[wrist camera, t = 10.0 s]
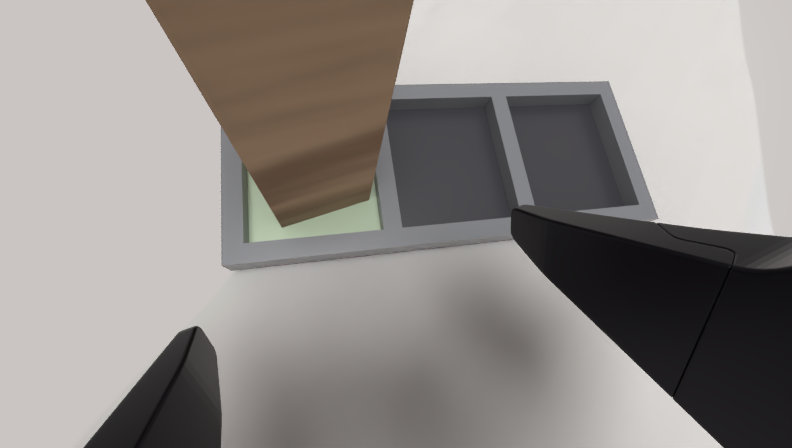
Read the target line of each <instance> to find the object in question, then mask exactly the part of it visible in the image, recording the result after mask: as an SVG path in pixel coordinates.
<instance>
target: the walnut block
mask: <svg viewBox="0 0 792 448" xmlns="http://www.w3.org/2000/svg"><path fill="white" fill-rule="evenodd" d="M413 1H414V0H146V2H147V3H148V5H149V6H150V8H151V10H152V12H153V13H154V15H155V17H156V18H157V20H158V22H159V23H160V25H161V27H162V28H163V30H164V32H165V33H166V35H167V37H168V38H169V40H170V42H171V43H172V45H173V46H174V48H175V50H176V51H177V53H178V55H179V57H180V58H181V60H182V62H183V63H184V65H185V67H186V68H187V70H188V72H189V73H190V75H191V77H192V78H193V80H194V82H195V83H196V85H197V87H198V88H199V90H200V92H201V93H202V95H203V97H204V98H205V100H206V102H207V103H208V105H209V107H210V108H211V110H212V112H213V113H214V115H215V117H216V118H217V120H218V122H219V123H220V125H221V127H222V129H223V130H224V132H225V134H226V135H227V137H228V139H229V140H230V142H231V144H232V145H233V147H234V149H235V150H236V152H237V154H238V155H239V157H240V159H241V160H242V162H243V164H244V165H245V167H246V169H247V170H248V172H249V174H250V175H251V177H252V179H253V180H254V182H255V184H256V185H257V187H258V189H259V190H260V192H261V194H262V195H263V197H264V199H265V200H266V202H267V204H268V205H269V207H270V209H271V210H272V212H273V214H274V215H275V217H276V219H277V220H278V222H279V224H280V225H281V227H282V228H283V227H286V226H289V225H292V224H296V223H299V222H302V221H305V220H308V219H311V218H314V217H318V216H321V215H324V214H327V213H330V212H333V211H336V210H339V209H343V208H346V207H349V206H352V205H355V204H358V203H361V202H365V201H368V200H369V198H370V194H371V189H372V185H373V180H374V176H375V171H376V167H377V162H378V158H379V153H380V149H381V144H382V140H383V135H384V131H385V126H386V122H387V117H388V113H389V108H390V104H391V99H392V95H393V90H394V86H395V81H396V77H397V72H398V68H399V64H400V59H401V55H402V50H403V46H404V41H405V37H406V32H407V28H408V23H409V19H410V14H411V10H412V5H413Z"/></svg>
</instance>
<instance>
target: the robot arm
mask: <svg viewBox="0 0 792 448" xmlns="http://www.w3.org/2000/svg"><path fill="white" fill-rule="evenodd" d="M511 235H512V237H513V239H514V240H515V241H516V243H517V244H518V245H519V246H520V247H521V248H522V250H523V251H524V252H525V253H526V254H527V256H528V257H529V258H530V259H531V260H532V261H533V263H534V264H535V265H536V266H537V267H538V269H539V270H540V271H541V272H542V273H543V274H544V275H545V276H546V277H547V278H548V279H549V280H550V281H551V282H552V283H553V284H554V285H555V286H556V287H557V288H558V289H559V290H560V291H561V292H562V293H563V294H565V295H566V296H567V297H568V298H569V299H570V300H571V301H572V302H573V303H574V304H575V305H576V306H577V307H578V308H579V309H580V310H581V311H582V312H583V313H584V314H585V315H586V316H587V317H588V318H590V319H591V320H592V321H593V322H594V323H595V324H596V325H597V326H598V327H599V328H600V329H601V330H602V331H603V332H604V333H605V334H606V335H607V336H608V337H609V338H610V339H611V340H612V341H613V342H614V343H616V344H617V345H618V346H619V347H620V348H621V349H622V350H623V351H624V352H625V353H626V354H627V355H628V356H629V357H630V358H631V359H632V360H633V361H634V362H635V363H636V364H637V365H638V366H639V367H641V368H642V369H643V370H644V371H645V372H646V373H647V374H648V375H649V376H650V377H651V378H652V379H653V380H654V381H655V382H656V383H657V384H658V385H659V386H660V387H661V388H662V389H663V390H664V391H666V392H667V393H668V394H669V395H670V396H671V397H673V399H674V400H675V401H676V402H677V403H678V404H679V405H680V406H681V407H682V408H683V409H684V410H685V411H686V412H687V413H688V414H689V415H690V416H691V417H692V418H693V419H694V420H695V421H696V422H697V423H699V424H700V425H701V426H702V427H703V428H704V429H705V430H706V431H707V432H708V433H709V434H710V435H711V436H712V437H713V438H714V439H715V440H716V441H717V442H718V443H719V444H720V445H721V446H722V447H723V448H792V237H781V236H772V235H761V234H751V233H741V232H730V231H721V230H711V229H702V228H693V227H685V226H678V225H670V224H663V223H657V224H656V223H655V222H648V221H641V220H634V219H627V218H620V217H612V216H605V215H598V214H591V213H584V212H577V211H569V210H562V209H555V208H548V207H541V206H534V205H526V204H524V205H521V206H518V207H515V208H513V209H512V211H511ZM221 427H222V412H221V399H220V388H219V377H218V365H217V356H216V352H215V349H214V347H213V345H212V344H211V342H210V341H209V339H208V338H207V336H206V335H205V333H204V332H203V330H202V329H201V328H200V327H198V326H194V327H191V328H188V329H186V330H183V331H181V332H179V333H178V334H177V335H176V336H175V337H174V339H173V340H172V341H171V342H170V344H169V345H168V346H167V347H166V348H165V350H164V351H163V352H162V353H161V354H160V356H159V357H158V358H157V359H156V360H155V362H154V363H153V364H152V365H151V367H150V368H149V369H148V370H147V371H146V373H145V374H144V375H143V376H142V377H141V379H140V380H139V381H138V382H137V384H136V385H135V386H134V387H133V388H132V390H131V391H130V392H129V393H128V394H127V396H126V397H125V398H124V399H123V400H122V402H121V403H120V404H119V405H118V407H117V408H116V409H115V410H114V411H113V413H112V414H111V415H110V416H109V417H108V419H107V420H106V421H105V422H104V423H103V425H102V426H101V427H100V428H99V430H98V431H97V432H96V433H95V434H94V436H93V437H92V438H91V439H90V440H89V442H88V443H87V444H86V445H85V446H84V448H221Z"/></svg>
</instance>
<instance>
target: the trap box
mask: <svg viewBox="0 0 792 448" xmlns="http://www.w3.org/2000/svg"><path fill="white" fill-rule="evenodd" d="M524 204H526V205H534V206H541V207H548V208H555V209H562V210H569V211H577V212H584V213H591V214H598V215H605V216H612V217H620V218H627V219H634V220H641V221H648V222H650V221H653V220H656V219H658V216H657V213H656V210H655V208H654V205H653V202H652V199H651V197H650V194H649V191H648V188H647V186H646V183H645V180H644V177H643V175H642V172H641V169H640V166H639V164H638V161H637V158H636V155H635V153H634V150H633V147H632V144H631V142H630V139H629V136H628V133H627V131H626V128H625V125H624V122H623V120H622V117H621V114H620V111H619V109H618V106H617V103H616V100H615V98H614V95H613V92H612V89H611V87H610V84H609V81H606V82H546V83H486V84H426V85H395V86H394V90H393V95H392V99H391V104H390V108H389V113H388V117H387V122H386V126H385V131H384V135H383V140H382V144H381V149H380V153H379V158H378V162H377V167H376V171H375V176H374V180H373V185H372V189H371V194H370V198H369V200H368V201H365V202H361V203H358V204H355V205H352V206H349V207H346V208H343V209H339V210H336V211H333V212H330V213H327V214H324V215H321V216H318V217H314V218H311V219H308V220H305V221H302V222H299V223H296V224H292V225H289V226H286V227H283V228H282V227H281V225H280V224H279V222H278V220H277V219H276V217H275V215H274V214H273V212H272V210H271V209H270V207H269V205H268V204H267V202H266V200H265V199H264V197H263V195H262V194H261V192H260V190H259V189H258V187H257V185H256V184H255V182H254V180H253V179H252V177H251V175H250V174H249V172H248V170H247V169H246V167H245V165H244V164H243V162H242V160H241V159H240V157H239V155H238V154H237V152H236V150H235V149H234V147H233V145H232V144H231V142H230V140H229V139H228V137H227V135H226V134H225V132H224V130H223V129H222V127H221V230H222V231H221V234H222V235H221V238H222V240H221V241H222V266H223V267H225V268H227V269H229V270H231V271H232V270H241V269H250V268H259V267H268V266H277V265H286V264H295V263H304V262H313V261H322V260H331V259H340V258H349V257H358V256H367V255H376V254H385V253H394V252H403V251H412V250H421V249H430V248H439V247H449V246H458V245H467V244H476V243H485V242H494V241H503V240H512V239H513V237H512V235H511V211H512V209H513V208H515V207H518V206H521V205H524Z"/></svg>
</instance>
